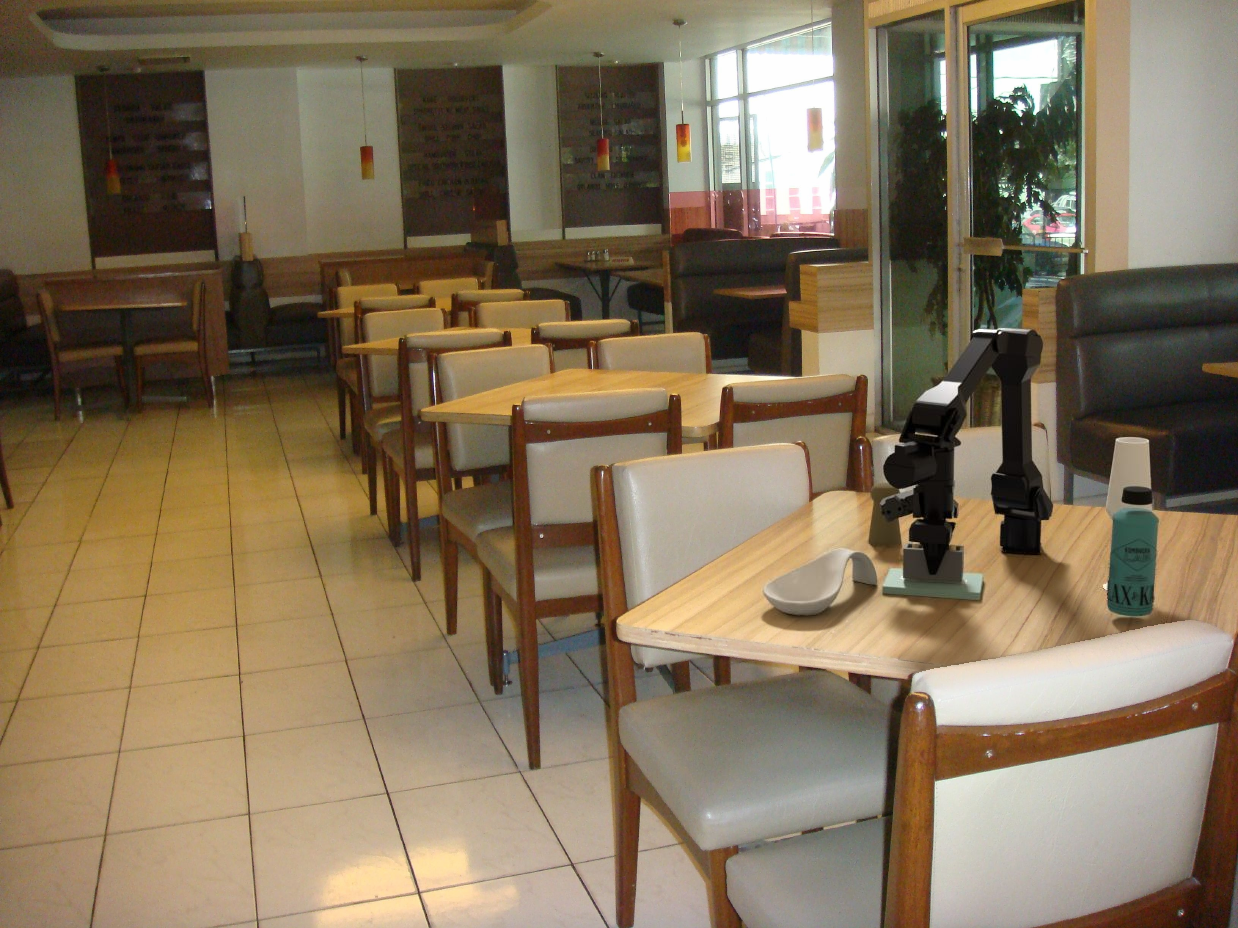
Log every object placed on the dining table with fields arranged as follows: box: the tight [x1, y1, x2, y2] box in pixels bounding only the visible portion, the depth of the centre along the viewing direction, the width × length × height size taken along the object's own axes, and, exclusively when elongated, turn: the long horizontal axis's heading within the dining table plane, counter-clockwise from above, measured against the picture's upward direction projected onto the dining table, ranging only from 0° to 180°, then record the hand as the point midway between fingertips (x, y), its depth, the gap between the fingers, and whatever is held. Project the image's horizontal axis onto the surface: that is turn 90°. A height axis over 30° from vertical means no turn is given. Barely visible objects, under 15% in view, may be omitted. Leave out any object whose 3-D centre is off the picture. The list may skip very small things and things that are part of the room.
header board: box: [881, 542, 984, 601], centre depth 195 cm, size 15×10×7 cm, turn 70°
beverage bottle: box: [1105, 486, 1160, 617], centre depth 176 cm, size 6×7×20 cm
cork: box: [867, 482, 903, 547], centre depth 222 cm, size 6×6×11 cm
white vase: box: [1102, 436, 1153, 591], centre depth 189 cm, size 7×7×24 cm
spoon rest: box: [762, 547, 878, 616], centre depth 192 cm, size 24×12×7 cm, turn 136°
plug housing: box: [902, 542, 965, 582], centre depth 195 cm, size 9×4×5 cm, turn 70°
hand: (933, 570), depth 196 cm, fingers closed on plug housing, 3 cm apart
